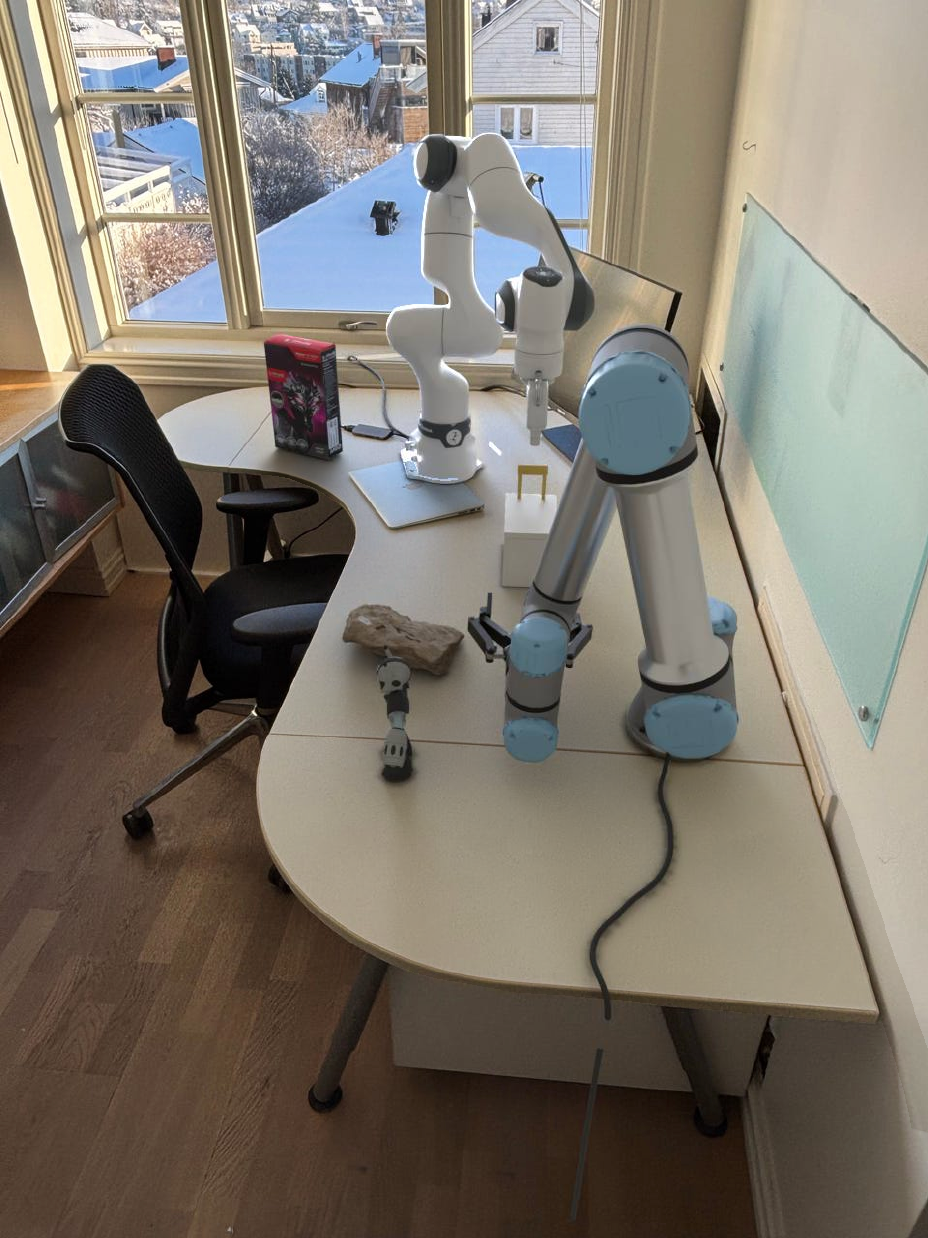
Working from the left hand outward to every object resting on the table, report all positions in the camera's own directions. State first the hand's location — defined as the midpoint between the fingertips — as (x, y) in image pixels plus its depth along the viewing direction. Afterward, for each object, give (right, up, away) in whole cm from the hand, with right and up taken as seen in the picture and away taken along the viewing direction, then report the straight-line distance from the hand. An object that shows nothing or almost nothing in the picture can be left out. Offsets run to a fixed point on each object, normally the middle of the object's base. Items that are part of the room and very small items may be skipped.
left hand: (534, 434), depth 176 cm
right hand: (-2, -32, -19) cm, 38 cm away
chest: (-1, -25, +9) cm, 26 cm away
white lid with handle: (0, -16, +3) cm, 16 cm away
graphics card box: (-52, +7, +55) cm, 76 cm away
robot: (-23, -57, -39) cm, 73 cm away
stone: (-25, -41, -16) cm, 50 cm away
